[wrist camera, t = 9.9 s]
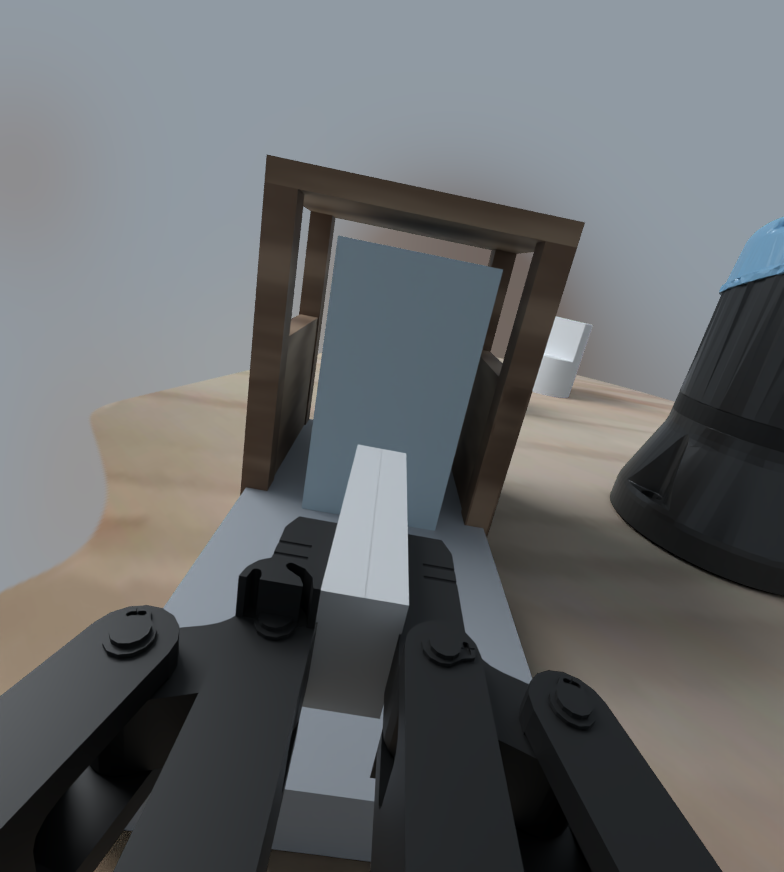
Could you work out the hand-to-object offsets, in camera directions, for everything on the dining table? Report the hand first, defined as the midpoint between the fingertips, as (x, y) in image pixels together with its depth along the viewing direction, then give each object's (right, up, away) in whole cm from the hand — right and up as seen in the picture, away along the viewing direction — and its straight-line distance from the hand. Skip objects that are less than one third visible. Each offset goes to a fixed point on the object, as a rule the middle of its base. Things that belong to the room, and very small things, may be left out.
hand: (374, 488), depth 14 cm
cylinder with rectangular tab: (+26, +10, +63) cm, 69 cm away
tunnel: (-1, -2, +17) cm, 17 cm away
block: (-1, 0, +16) cm, 16 cm away
